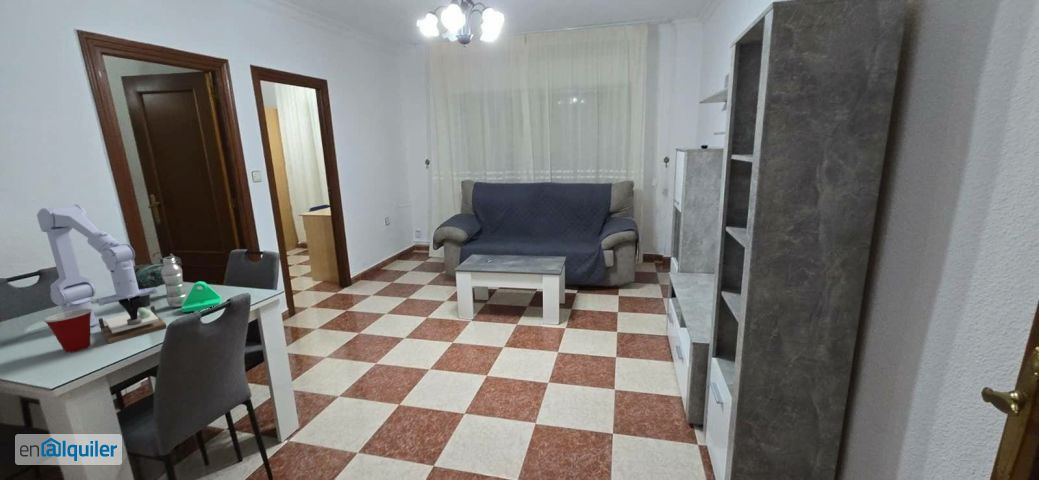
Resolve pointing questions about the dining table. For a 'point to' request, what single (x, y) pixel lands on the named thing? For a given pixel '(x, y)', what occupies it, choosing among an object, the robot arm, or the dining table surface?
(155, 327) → the walnut base
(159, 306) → the dining table surface
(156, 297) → the dining table surface
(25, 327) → the dining table surface
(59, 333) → the plastic cup
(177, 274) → the plastic bottle
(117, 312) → the dining table surface
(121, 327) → the instrument deck
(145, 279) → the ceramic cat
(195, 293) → the green triangular piece
